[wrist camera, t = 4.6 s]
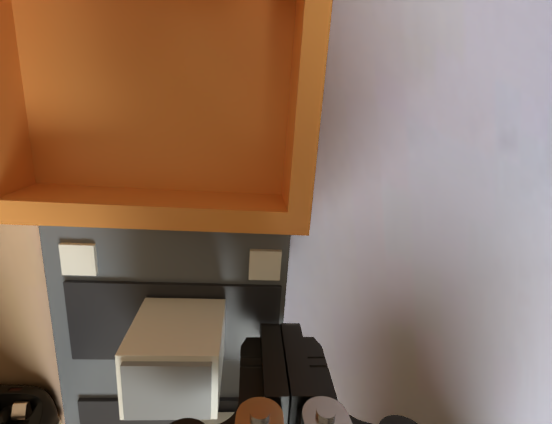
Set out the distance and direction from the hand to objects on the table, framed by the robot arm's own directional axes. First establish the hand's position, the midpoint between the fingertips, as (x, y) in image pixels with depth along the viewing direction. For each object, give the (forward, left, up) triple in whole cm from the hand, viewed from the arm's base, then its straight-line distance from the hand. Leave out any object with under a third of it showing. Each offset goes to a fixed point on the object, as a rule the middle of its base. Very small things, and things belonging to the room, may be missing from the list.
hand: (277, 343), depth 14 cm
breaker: (0, -4, -1) cm, 4 cm away
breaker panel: (+2, -4, -3) cm, 5 cm away
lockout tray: (-9, -5, -3) cm, 10 cm away
